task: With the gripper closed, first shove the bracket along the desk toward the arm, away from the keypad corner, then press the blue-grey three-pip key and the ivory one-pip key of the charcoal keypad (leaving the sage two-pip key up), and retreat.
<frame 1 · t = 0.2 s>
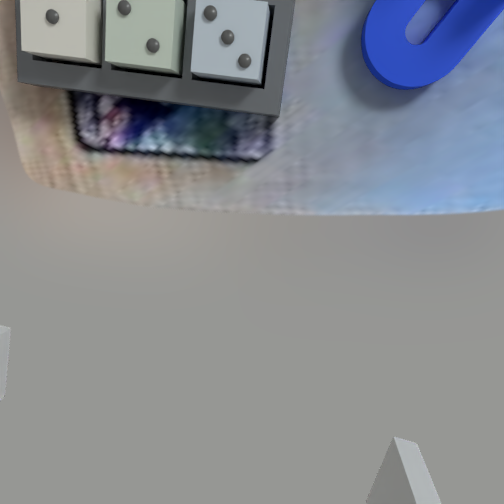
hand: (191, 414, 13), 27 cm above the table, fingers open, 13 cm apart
key one: (64, 22, 33), point 3 cm above the table, slide at 0.0 cm
key two: (146, 32, 33), point 3 cm above the table, slide at 0.0 cm
key three: (231, 42, 32), point 3 cm above the table, slide at 0.0 cm
keypad housing: (160, 42, 36), on the table
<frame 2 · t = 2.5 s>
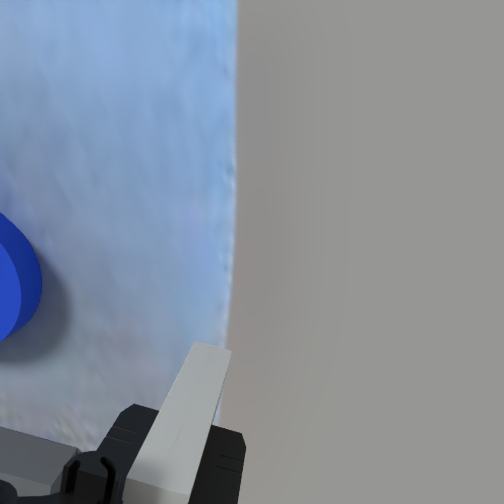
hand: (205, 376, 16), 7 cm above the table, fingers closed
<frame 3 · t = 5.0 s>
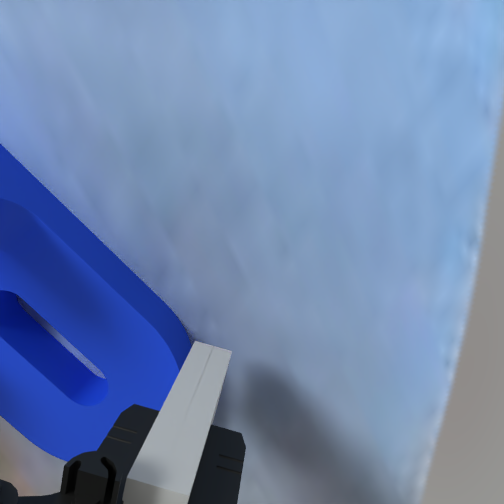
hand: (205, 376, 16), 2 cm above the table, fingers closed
bracket: (30, 283, 18), on the table, touching gripper
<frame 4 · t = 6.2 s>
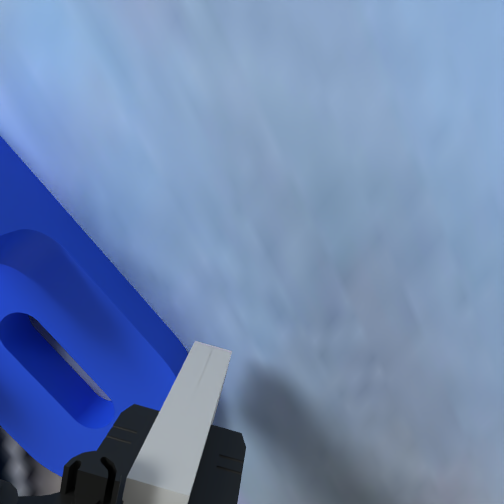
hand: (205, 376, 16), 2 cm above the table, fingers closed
bracket: (43, 302, 19), on the table
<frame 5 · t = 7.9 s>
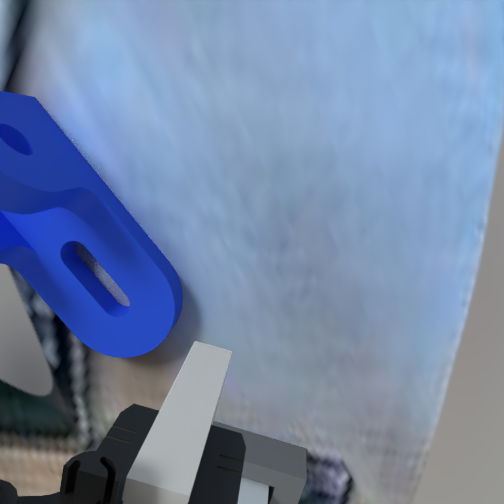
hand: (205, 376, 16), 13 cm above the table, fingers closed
bracket: (85, 239, 29), on the table
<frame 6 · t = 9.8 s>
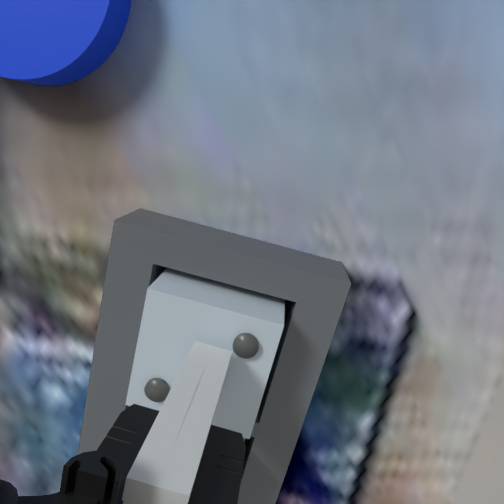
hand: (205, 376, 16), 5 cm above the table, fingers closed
key two: (175, 478, 19), point 3 cm above the table, slide at 0.0 cm
key three: (208, 347, 18), point 3 cm above the table, slide at 0.4 cm, touching gripper
keypad housing: (191, 429, 22), on the table
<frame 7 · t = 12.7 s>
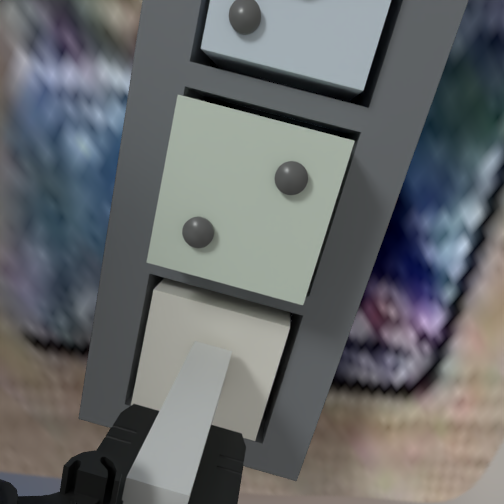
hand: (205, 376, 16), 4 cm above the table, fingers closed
key one: (213, 348, 17), point 2 cm above the table, slide at 1.6 cm, touching gripper
key two: (249, 198, 14), point 3 cm above the table, slide at 0.0 cm
keypad housing: (257, 188, 17), on the table
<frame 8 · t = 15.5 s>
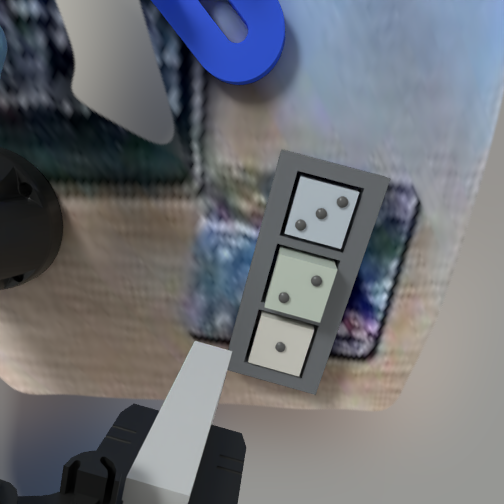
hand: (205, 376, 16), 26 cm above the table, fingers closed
key one: (280, 339, 42), point 2 cm above the table, slide at 1.6 cm
key two: (299, 283, 38), point 3 cm above the table, slide at 0.0 cm
key three: (320, 210, 38), point 2 cm above the table, slide at 1.6 cm
keypad housing: (299, 272, 42), on the table
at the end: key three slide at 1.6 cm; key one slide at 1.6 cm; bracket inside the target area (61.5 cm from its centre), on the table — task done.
